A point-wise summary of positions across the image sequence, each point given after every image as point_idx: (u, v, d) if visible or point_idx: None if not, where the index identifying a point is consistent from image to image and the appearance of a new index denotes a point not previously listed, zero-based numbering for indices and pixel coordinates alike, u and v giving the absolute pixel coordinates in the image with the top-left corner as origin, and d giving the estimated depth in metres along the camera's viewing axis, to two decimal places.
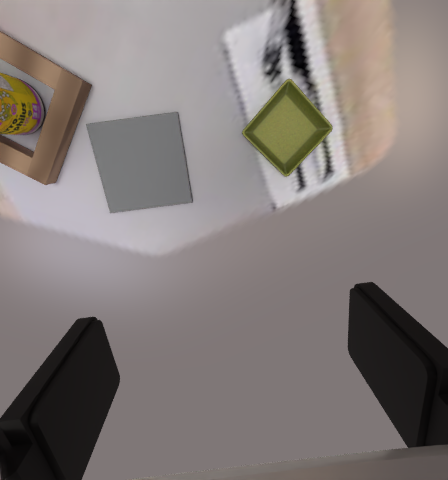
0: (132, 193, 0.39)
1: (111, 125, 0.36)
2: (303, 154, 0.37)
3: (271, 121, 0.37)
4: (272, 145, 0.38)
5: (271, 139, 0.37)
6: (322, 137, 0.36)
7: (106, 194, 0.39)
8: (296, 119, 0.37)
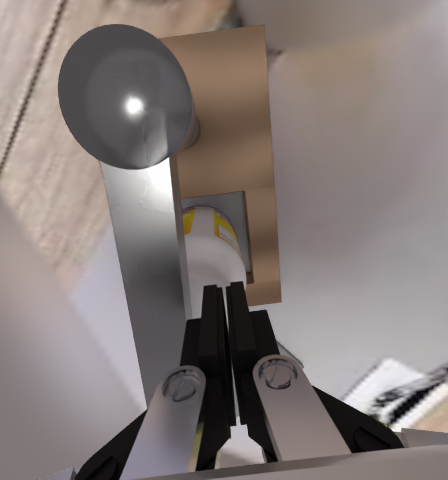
0: None
1: None
2: None
3: None
4: None
5: None
6: None
7: None
8: None
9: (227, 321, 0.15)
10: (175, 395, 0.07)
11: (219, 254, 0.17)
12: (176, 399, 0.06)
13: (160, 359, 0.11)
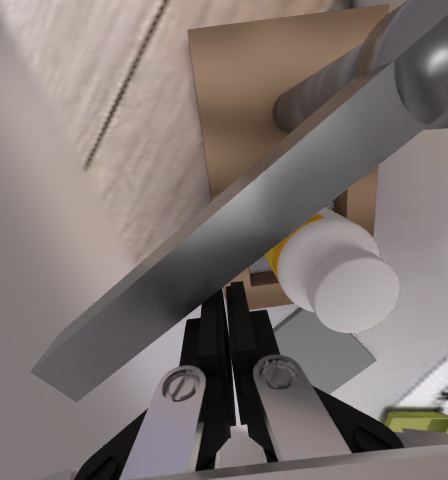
0: None
1: None
2: None
3: (407, 418, 0.37)
4: None
5: (393, 426, 0.37)
6: None
7: None
8: None
9: (387, 306, 0.15)
10: (175, 395, 0.07)
11: (364, 238, 0.16)
12: (176, 399, 0.06)
13: (198, 263, 0.08)
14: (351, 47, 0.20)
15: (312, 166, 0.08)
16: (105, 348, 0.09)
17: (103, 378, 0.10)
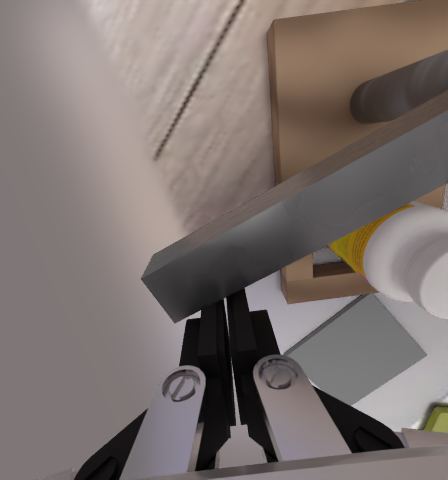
0: (321, 364, 0.32)
1: (383, 313, 0.30)
2: None
3: None
4: None
5: (437, 422, 0.37)
6: None
7: (304, 344, 0.31)
8: None
9: None
10: (175, 395, 0.07)
11: None
12: (176, 399, 0.06)
13: (353, 193, 0.08)
14: (434, 37, 0.20)
15: None
16: (227, 268, 0.09)
17: (212, 301, 0.09)
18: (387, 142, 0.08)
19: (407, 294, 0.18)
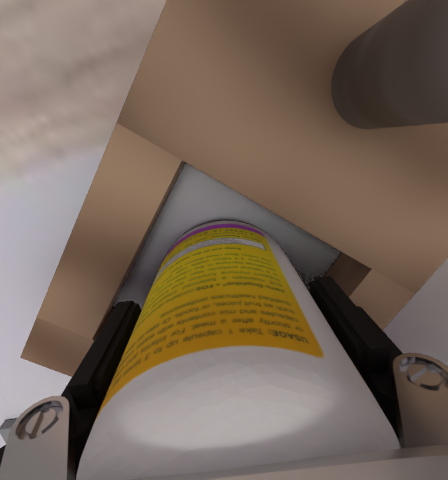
0: None
1: None
2: None
3: None
4: None
5: None
6: None
7: None
8: None
9: None
10: (34, 433, 0.06)
11: None
12: (37, 435, 0.06)
13: None
14: None
15: None
16: None
17: None
18: None
19: None
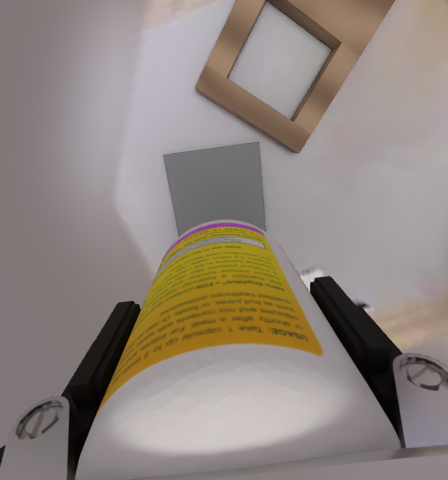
0: (187, 183, 0.35)
1: (256, 169, 0.35)
2: None
3: None
4: None
5: None
6: None
7: (185, 153, 0.34)
8: None
9: None
10: (35, 433, 0.06)
11: None
12: (37, 435, 0.06)
13: None
14: None
15: None
16: None
17: None
18: None
19: None
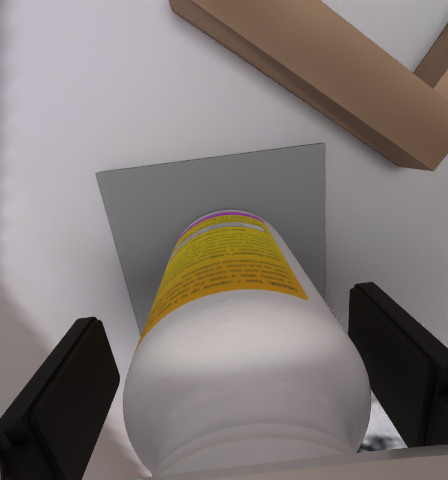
0: (156, 237, 0.15)
1: (314, 205, 0.15)
2: None
3: None
4: None
5: None
6: None
7: (147, 170, 0.14)
8: None
9: None
10: None
11: (362, 404, 0.06)
12: None
13: None
14: None
15: None
16: None
17: None
18: None
19: None
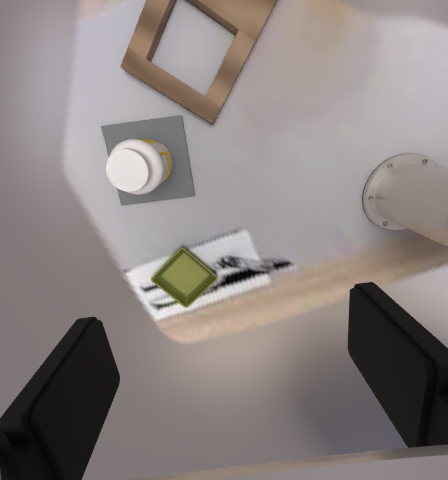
0: None
1: (181, 139, 0.41)
2: (168, 290, 0.49)
3: (191, 265, 0.49)
4: (174, 266, 0.49)
5: (179, 265, 0.49)
6: (180, 301, 0.50)
7: (119, 125, 0.40)
8: (193, 282, 0.50)
9: (138, 185, 0.31)
10: None
11: (154, 159, 0.32)
12: None
13: None
14: None
15: None
16: None
17: None
18: None
19: None
